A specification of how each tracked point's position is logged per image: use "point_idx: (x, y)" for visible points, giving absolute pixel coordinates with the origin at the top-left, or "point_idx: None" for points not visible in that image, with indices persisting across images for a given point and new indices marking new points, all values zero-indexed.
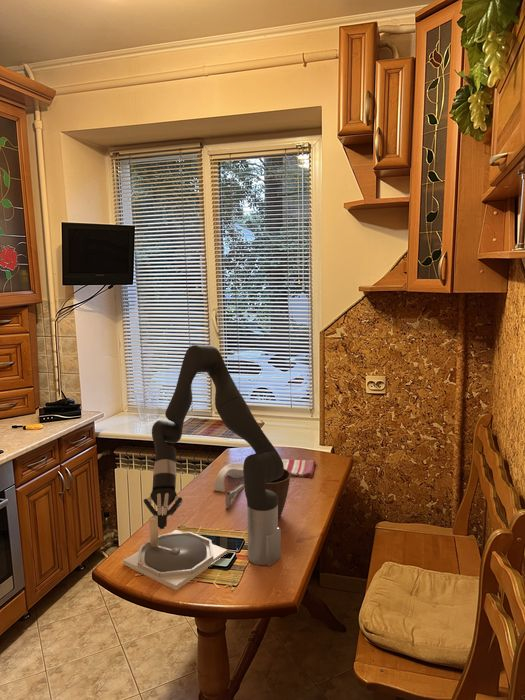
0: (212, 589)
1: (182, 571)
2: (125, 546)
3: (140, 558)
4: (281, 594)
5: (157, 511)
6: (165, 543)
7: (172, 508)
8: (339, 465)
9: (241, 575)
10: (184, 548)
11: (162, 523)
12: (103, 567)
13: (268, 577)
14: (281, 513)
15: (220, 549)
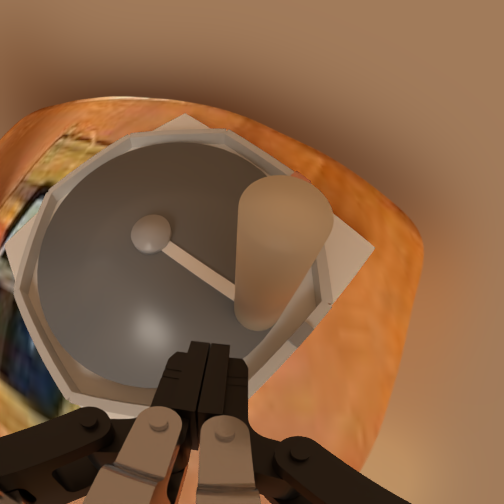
0: (107, 126)
1: (156, 131)
2: (391, 390)
3: None
4: (25, 125)
5: (253, 470)
6: (196, 319)
7: (59, 434)
8: None
9: (35, 164)
10: (112, 252)
11: (198, 355)
12: (419, 253)
13: (7, 160)
14: None
15: (15, 250)
